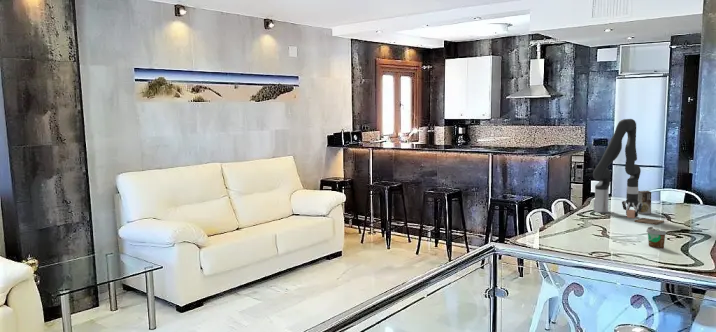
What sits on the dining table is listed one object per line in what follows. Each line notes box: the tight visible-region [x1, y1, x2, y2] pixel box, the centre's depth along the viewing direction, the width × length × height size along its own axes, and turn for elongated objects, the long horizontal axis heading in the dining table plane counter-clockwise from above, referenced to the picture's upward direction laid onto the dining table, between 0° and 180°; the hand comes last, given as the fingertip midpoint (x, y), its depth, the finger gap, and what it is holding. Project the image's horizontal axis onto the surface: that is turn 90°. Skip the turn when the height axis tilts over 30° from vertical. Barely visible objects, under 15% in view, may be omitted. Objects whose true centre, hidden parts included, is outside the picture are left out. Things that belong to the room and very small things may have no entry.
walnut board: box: [634, 217, 665, 226], centre depth 363 cm, size 14×12×1 cm
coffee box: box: [637, 190, 652, 215], centre depth 393 cm, size 9×6×16 cm
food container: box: [646, 226, 667, 249], centre depth 302 cm, size 12×6×10 cm, turn 5°
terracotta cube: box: [626, 209, 637, 219], centre depth 380 cm, size 5×5×5 cm
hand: (632, 216), depth 380 cm, fingers closed on terracotta cube, 5 cm apart
